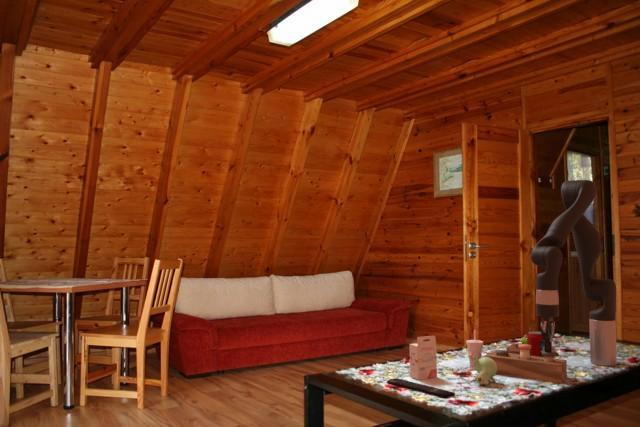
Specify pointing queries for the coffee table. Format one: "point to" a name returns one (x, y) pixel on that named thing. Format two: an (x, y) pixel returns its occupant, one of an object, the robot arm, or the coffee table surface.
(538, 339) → the beverage can
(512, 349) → the plant
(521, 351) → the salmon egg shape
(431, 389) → the remote control
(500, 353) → the plunger
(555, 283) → the robot arm
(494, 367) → the frog
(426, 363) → the ink cartridge box
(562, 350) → the coffee table surface
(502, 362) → the oak block
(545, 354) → the plunger
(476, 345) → the smoothie
